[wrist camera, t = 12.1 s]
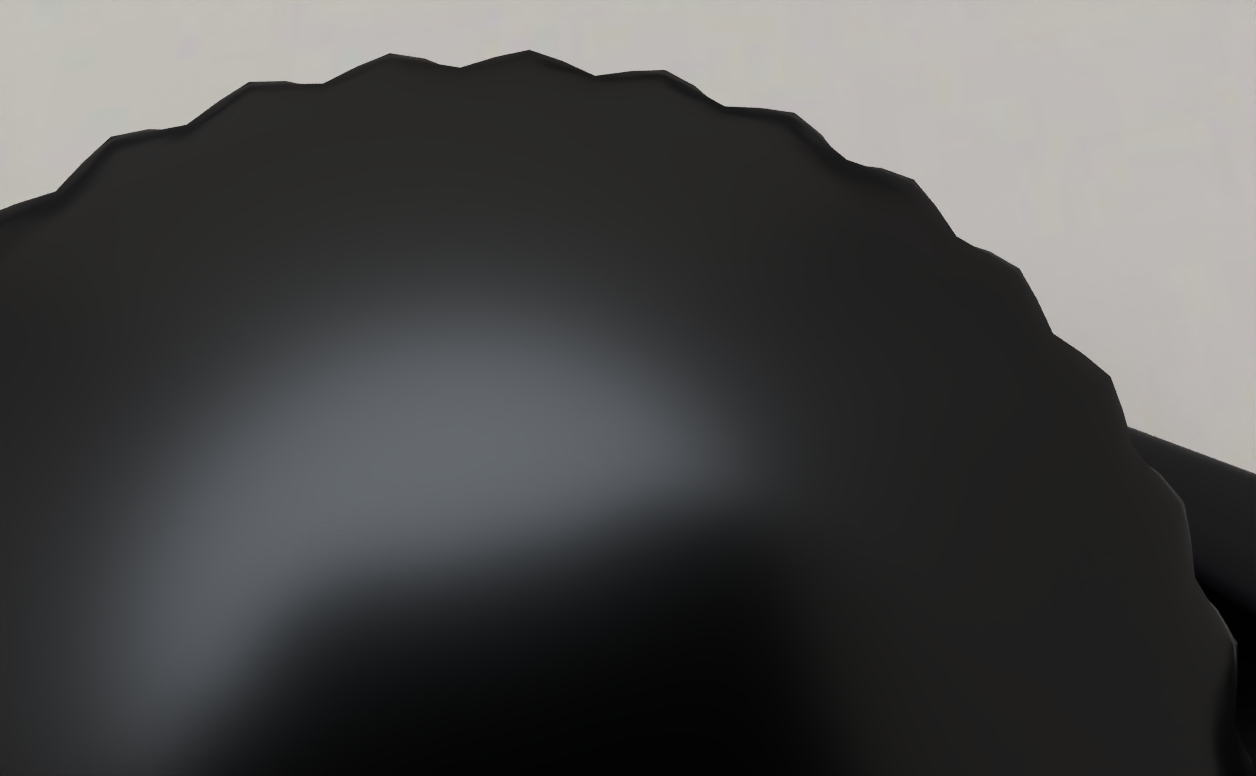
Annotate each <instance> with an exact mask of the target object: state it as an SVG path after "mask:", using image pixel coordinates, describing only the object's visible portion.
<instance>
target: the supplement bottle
mask: <svg viewBox="0 0 1256 776" xmlns="http://www.w3.org/2000/svg"><path fill="white" fill-rule="evenodd" d="M1236 695H1237V642H1236V640H1235V638H1234V637H1233V635H1232V633H1231V632H1230V630H1229V628H1228V627H1227V625H1226V623H1225V621H1224V620H1223V618H1222V616H1221V615H1220V613H1219V611H1218V610H1217V609H1216V607H1215V606H1214V605H1213V604H1212V603H1211V602H1210V601H1209V600H1208V599H1207V597H1206V595H1205V594H1204V592H1203V590H1202V589H1201V587H1200V585H1199V584H1198V582H1197V580H1196V579H1195V573H1194V564H1193V555H1192V545H1191V537H1190V531H1189V526H1188V520H1187V515H1186V509H1185V504H1184V501H1183V500H1182V499H1181V498H1180V496H1179V495H1178V494H1177V493H1176V492H1175V491H1174V489H1173V488H1172V487H1171V486H1170V485H1169V484H1168V482H1167V481H1166V480H1165V479H1164V478H1163V476H1162V475H1161V474H1160V473H1158V472H1157V471H1156V470H1155V469H1153V468H1152V467H1151V466H1149V465H1148V464H1147V463H1146V462H1145V461H1144V459H1143V458H1142V457H1141V456H1140V455H1139V454H1138V452H1137V451H1136V450H1135V449H1134V448H1133V445H1132V441H1131V438H1130V434H1129V431H1128V427H1127V423H1126V420H1125V416H1124V413H1123V409H1122V407H1121V404H1120V401H1119V399H1118V396H1117V393H1116V390H1115V388H1114V385H1113V382H1112V380H1111V377H1110V376H1109V375H1108V374H1107V373H1105V372H1104V371H1103V370H1102V369H1101V368H1099V367H1098V366H1097V365H1096V364H1095V363H1093V362H1092V361H1091V360H1090V359H1089V358H1087V357H1086V356H1085V355H1084V354H1082V353H1081V352H1079V351H1078V350H1077V349H1075V348H1074V347H1072V346H1071V345H1069V344H1068V343H1066V342H1065V341H1063V340H1062V339H1060V338H1059V337H1057V336H1056V335H1054V334H1053V333H1052V331H1051V329H1050V326H1049V324H1048V322H1047V320H1046V318H1045V316H1044V313H1043V311H1042V309H1041V307H1040V305H1039V303H1038V301H1037V298H1036V297H1035V295H1034V293H1033V292H1032V290H1031V288H1030V286H1029V285H1028V283H1027V281H1026V279H1025V278H1024V276H1023V274H1022V272H1021V271H1020V269H1019V268H1017V267H1015V266H1014V265H1012V264H1010V263H1009V262H1007V261H1005V260H1003V259H1002V258H1000V257H998V256H996V255H995V254H993V253H991V252H990V251H987V250H983V249H980V248H977V247H974V246H972V245H970V244H969V243H967V242H965V241H963V240H962V239H960V238H958V237H956V235H955V234H954V232H953V231H952V229H951V228H950V226H949V225H948V223H947V222H946V220H945V219H944V217H943V216H942V215H941V213H940V212H939V210H938V209H937V207H936V206H935V205H934V203H933V202H932V201H931V200H930V199H929V197H928V196H927V195H926V194H925V193H924V191H923V190H922V189H921V188H920V187H919V185H918V184H917V183H916V182H915V181H914V180H913V179H910V178H908V177H905V176H902V175H899V174H896V173H894V172H891V171H888V170H885V169H882V168H875V167H867V166H863V165H860V164H857V163H854V162H851V161H849V160H846V159H845V158H844V157H843V156H841V155H840V154H839V153H838V152H837V151H835V150H834V149H833V148H832V147H831V146H830V145H829V144H828V143H827V141H826V140H825V139H824V137H823V136H822V135H821V134H820V133H819V132H818V131H816V130H815V129H814V128H813V127H811V126H810V125H809V124H808V123H806V122H805V121H804V120H803V119H801V118H800V117H799V116H798V115H796V114H795V113H792V112H785V111H778V110H771V109H764V108H746V107H725V106H723V105H721V104H719V103H717V102H716V101H714V100H712V99H710V98H708V97H707V96H706V95H705V94H703V93H702V92H701V91H700V90H699V89H698V88H696V87H695V86H694V85H692V84H690V83H688V82H686V81H684V80H683V79H681V78H679V77H677V76H675V75H673V74H671V73H670V72H668V71H666V70H653V71H629V72H622V73H614V74H606V75H599V76H594V75H592V74H589V73H587V72H585V71H583V70H581V69H579V68H576V67H574V66H572V65H570V64H568V63H565V62H563V61H561V60H558V59H555V58H552V57H549V56H546V55H543V54H540V53H537V52H534V51H531V50H527V51H522V52H517V53H513V54H508V55H503V56H498V57H494V58H491V59H488V60H484V61H481V62H478V63H474V64H471V65H468V66H465V67H461V68H458V67H452V66H446V65H439V64H437V63H434V62H432V61H429V60H427V59H423V58H417V57H410V56H404V55H397V54H391V53H390V54H387V55H385V56H382V57H380V58H377V59H375V60H372V61H370V62H367V63H365V64H362V65H360V66H358V67H356V68H354V69H352V70H350V71H348V72H346V73H344V74H342V75H340V76H338V77H336V78H334V79H332V80H330V81H328V82H326V83H324V84H297V83H292V82H287V81H273V82H248V83H247V84H245V85H244V86H242V87H241V88H239V89H237V90H236V91H234V92H233V93H231V94H230V95H228V96H226V97H225V98H223V99H222V100H220V101H219V102H217V103H216V104H214V105H213V106H212V107H210V108H209V109H208V110H206V111H205V112H204V113H202V114H201V115H200V116H198V117H197V118H195V119H194V120H193V121H191V122H190V123H189V124H187V125H183V126H178V127H173V128H168V129H163V130H155V129H147V130H143V131H138V132H133V133H128V134H123V135H118V136H113V137H110V138H109V139H108V140H107V141H106V142H105V143H104V144H103V145H101V146H100V147H99V148H98V149H97V150H96V151H95V152H94V153H93V154H92V155H91V156H90V157H88V158H87V159H86V160H85V161H84V162H83V163H82V164H81V165H80V166H79V167H78V168H77V169H76V171H75V172H74V173H73V174H72V175H71V176H70V177H69V178H68V179H67V180H66V181H65V182H64V183H63V184H62V185H61V186H60V187H59V188H58V190H57V191H56V192H53V193H50V194H46V195H43V196H40V197H37V198H34V199H30V200H27V201H24V202H21V203H18V204H15V205H12V206H10V207H7V208H5V209H2V210H0V776H1256V768H1255V766H1254V763H1253V760H1252V758H1251V757H1250V755H1249V754H1248V752H1247V751H1246V749H1245V747H1244V745H1243V742H1242V740H1241V737H1240V734H1239V732H1238V729H1237V727H1236V724H1235V711H1236Z"/></svg>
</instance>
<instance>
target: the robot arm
mask: <svg viewBox="0 0 1256 776" xmlns="http://www.w3.org/2000/svg"><path fill="white" fill-rule="evenodd" d="M1127 427H1128V426H1127ZM1128 431H1129V434H1130V438H1131V441H1132V445H1133V448H1134V449H1135V450H1136V451H1137V452H1138V454H1139V455H1140V456H1141V457H1142V458H1143V459H1144V461H1145V462H1146V463H1147V464H1148V465H1149V466H1151V467H1152V468H1153V469H1155V470H1156V471H1157V472H1158V473H1160V474H1161V475H1162V476H1163V478H1164V479H1165V480H1166V481H1167V482H1168V484H1169V485H1170V486H1171V487H1172V488H1173V489H1174V491H1175V492H1176V493H1177V494H1178V495H1179V496H1180V498H1181V499H1182V500H1183V501H1184V504H1185V509H1186V515H1187V520H1188V526H1189V531H1190V537H1191V545H1192V555H1193V564H1194V573H1195V579H1196V580H1197V582H1198V584H1199V585H1200V587H1201V589H1202V590H1203V592H1204V594H1205V595H1206V597H1207V599H1208V600H1209V601H1210V602H1211V603H1212V604H1213V605H1214V606H1215V607H1216V609H1217V610H1218V611H1219V613H1220V615H1221V616H1222V618H1223V620H1224V621H1225V623H1226V625H1227V627H1228V628H1229V630H1230V632H1231V633H1232V635H1233V637H1234V638H1235V640H1236V642H1237V695H1236V711H1235V724H1236V727H1237V729H1238V732H1239V734H1240V737H1241V740H1242V742H1243V745H1244V747H1245V749H1246V751H1247V752H1248V754H1249V755H1250V757H1251V758H1252V760H1253V763H1254V766H1255V768H1256V474H1254V473H1251V472H1249V471H1246V470H1243V469H1241V468H1238V467H1235V466H1233V465H1230V464H1227V463H1224V462H1222V461H1219V460H1216V459H1214V458H1211V457H1208V456H1206V455H1203V454H1200V453H1198V452H1195V451H1192V450H1190V449H1187V448H1184V447H1181V446H1179V445H1176V444H1173V443H1171V442H1168V441H1165V440H1163V439H1160V438H1157V437H1155V436H1152V435H1149V434H1147V433H1144V432H1141V431H1138V430H1136V429H1133V428H1130V427H1128Z"/></svg>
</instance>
